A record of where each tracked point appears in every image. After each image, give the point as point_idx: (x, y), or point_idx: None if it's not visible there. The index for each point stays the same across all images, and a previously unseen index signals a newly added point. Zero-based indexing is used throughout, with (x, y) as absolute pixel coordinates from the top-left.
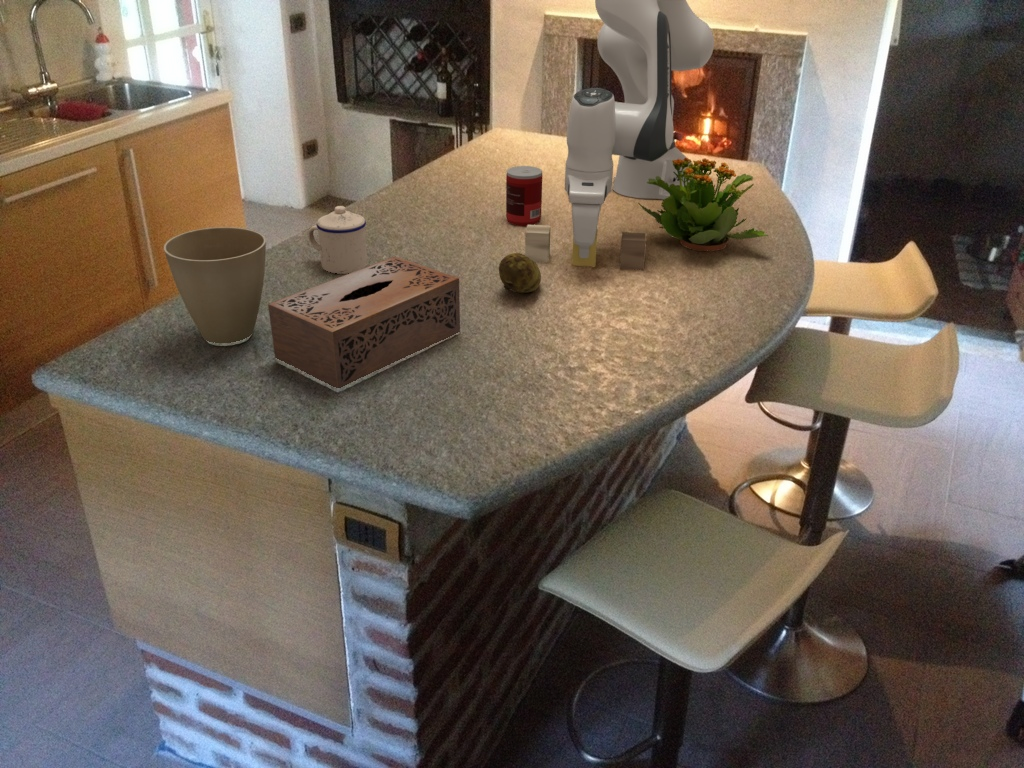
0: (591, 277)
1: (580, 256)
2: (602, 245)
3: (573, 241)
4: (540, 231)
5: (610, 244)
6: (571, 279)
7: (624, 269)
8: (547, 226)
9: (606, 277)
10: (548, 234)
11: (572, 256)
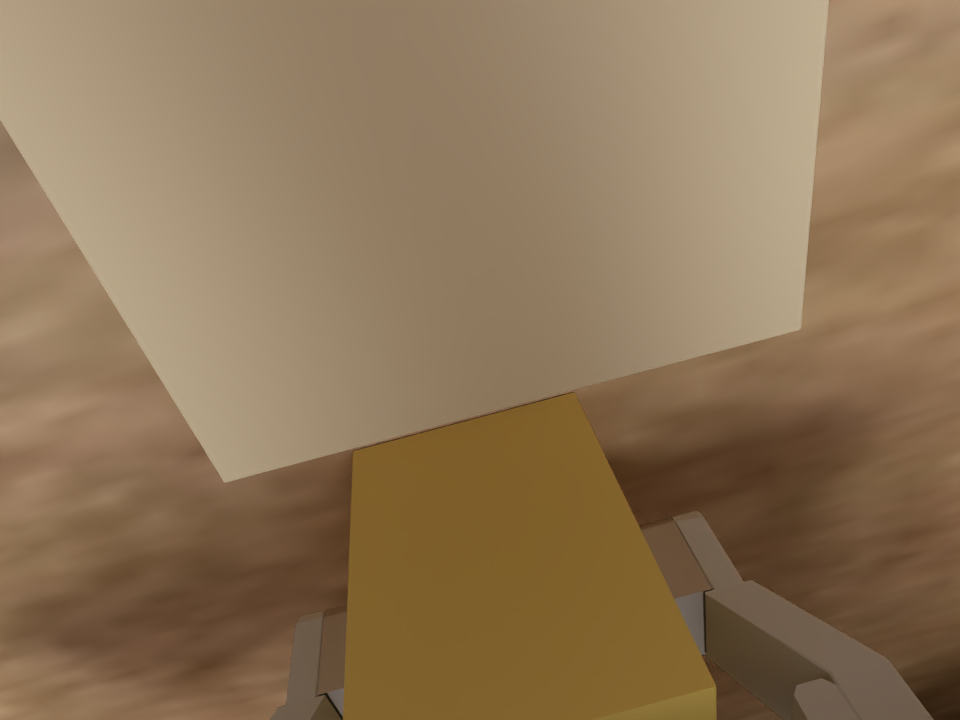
0: (176, 638)
1: (302, 626)
2: (890, 493)
3: (348, 693)
4: (243, 248)
5: (911, 527)
6: (14, 553)
7: None
8: (736, 278)
9: (243, 696)
10: (226, 457)
11: (353, 519)
